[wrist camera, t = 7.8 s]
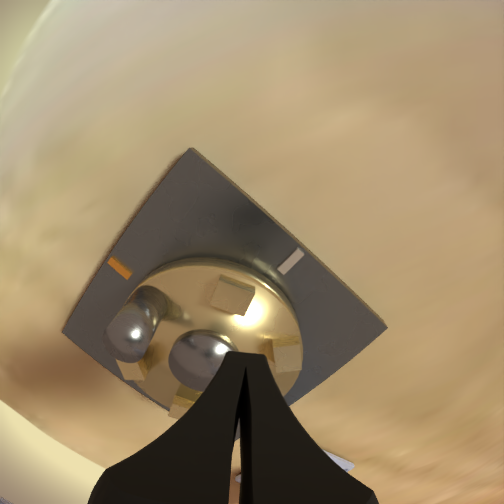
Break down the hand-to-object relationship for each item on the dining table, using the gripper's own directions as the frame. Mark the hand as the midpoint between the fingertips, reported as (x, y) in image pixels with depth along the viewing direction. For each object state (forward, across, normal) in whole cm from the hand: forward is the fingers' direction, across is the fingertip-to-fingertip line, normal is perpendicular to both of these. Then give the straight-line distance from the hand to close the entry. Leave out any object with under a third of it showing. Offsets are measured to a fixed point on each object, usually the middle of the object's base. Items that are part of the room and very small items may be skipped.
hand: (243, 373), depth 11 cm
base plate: (+9, +2, +4) cm, 10 cm away
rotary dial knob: (+7, +2, +4) cm, 9 cm away
